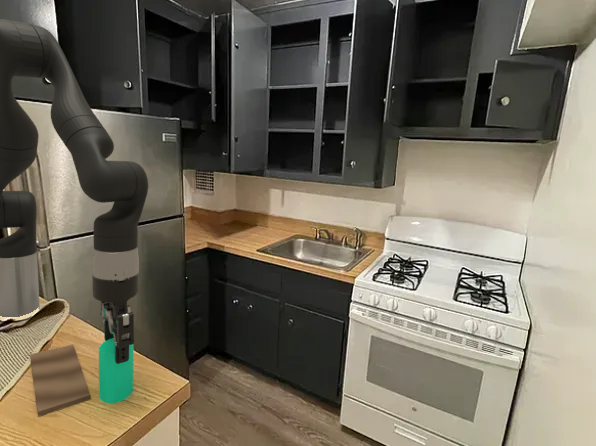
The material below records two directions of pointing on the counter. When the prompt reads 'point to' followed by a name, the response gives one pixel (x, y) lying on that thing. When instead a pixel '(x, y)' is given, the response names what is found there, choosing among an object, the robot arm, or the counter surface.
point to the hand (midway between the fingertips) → (116, 350)
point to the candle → (114, 374)
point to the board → (58, 379)
